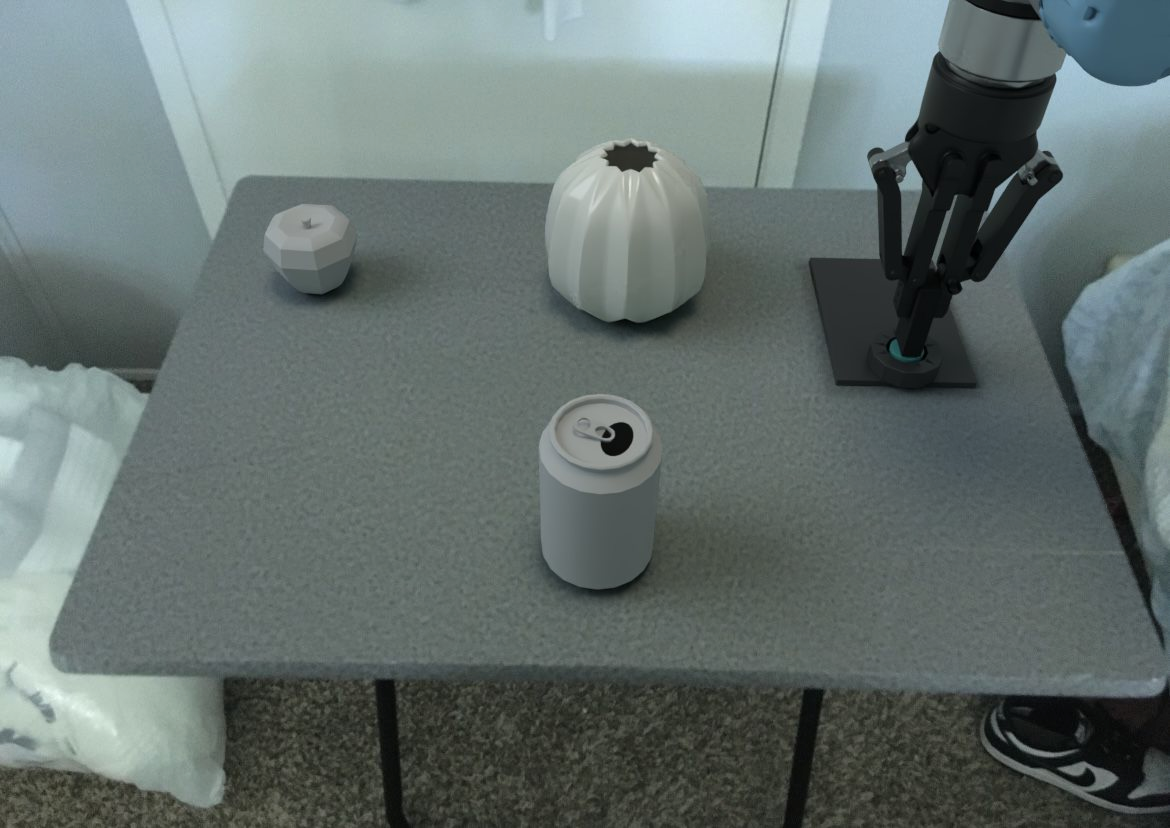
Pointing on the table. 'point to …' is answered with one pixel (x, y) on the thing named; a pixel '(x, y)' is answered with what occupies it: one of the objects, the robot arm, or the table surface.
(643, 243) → the vase
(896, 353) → the button
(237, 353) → the table surface
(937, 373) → the scale
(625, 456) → the can
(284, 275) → the apple
